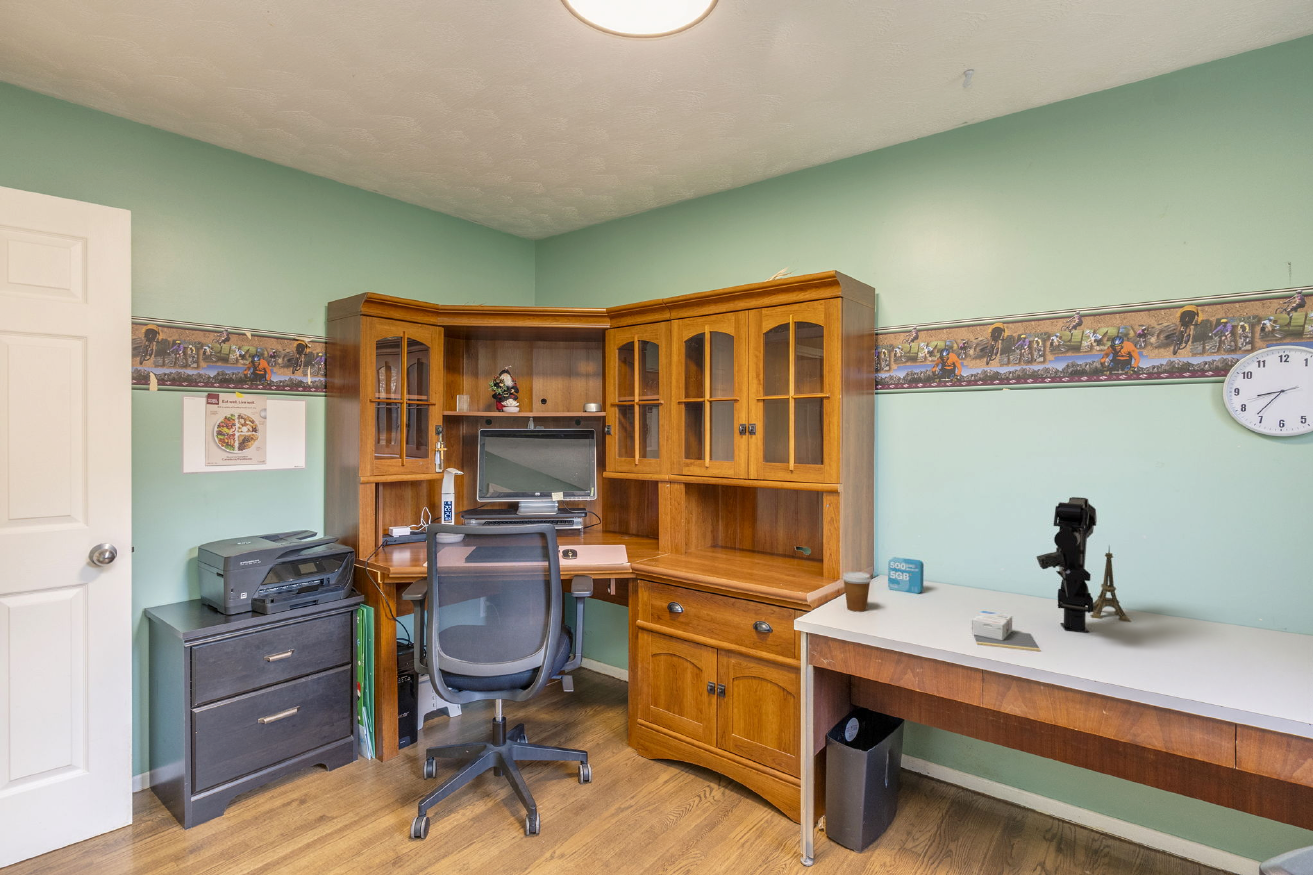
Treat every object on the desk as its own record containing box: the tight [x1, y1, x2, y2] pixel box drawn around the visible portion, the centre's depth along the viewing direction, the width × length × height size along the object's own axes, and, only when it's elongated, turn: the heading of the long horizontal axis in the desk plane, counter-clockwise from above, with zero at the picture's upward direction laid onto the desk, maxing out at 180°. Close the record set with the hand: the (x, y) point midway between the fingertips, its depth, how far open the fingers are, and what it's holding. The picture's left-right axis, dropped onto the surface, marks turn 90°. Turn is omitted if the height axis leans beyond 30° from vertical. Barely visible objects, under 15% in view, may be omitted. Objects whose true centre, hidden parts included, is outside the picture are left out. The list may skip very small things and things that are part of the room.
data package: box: [887, 556, 925, 595], centre depth 246 cm, size 12×4×12 cm, turn 54°
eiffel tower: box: [1090, 546, 1132, 623], centre depth 214 cm, size 11×11×25 cm
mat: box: [973, 631, 1041, 652], centre depth 191 cm, size 15×16×1 cm
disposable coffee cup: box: [842, 571, 872, 613], centre depth 222 cm, size 10×10×12 cm
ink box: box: [971, 610, 1013, 641], centre depth 195 cm, size 9×5×12 cm
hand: (1069, 597), depth 191 cm, fingers closed
